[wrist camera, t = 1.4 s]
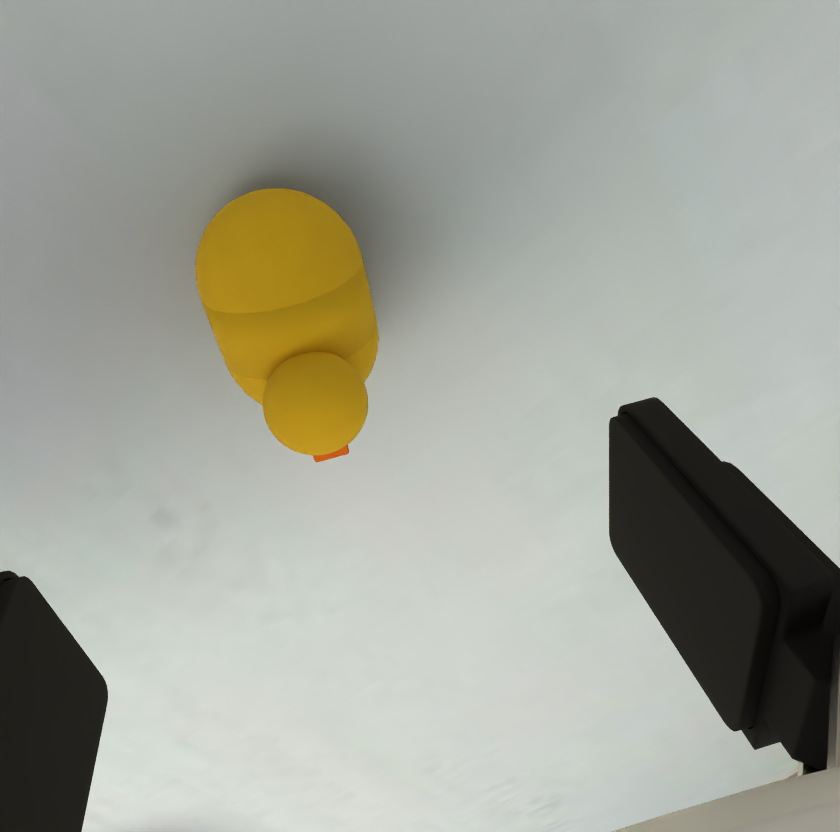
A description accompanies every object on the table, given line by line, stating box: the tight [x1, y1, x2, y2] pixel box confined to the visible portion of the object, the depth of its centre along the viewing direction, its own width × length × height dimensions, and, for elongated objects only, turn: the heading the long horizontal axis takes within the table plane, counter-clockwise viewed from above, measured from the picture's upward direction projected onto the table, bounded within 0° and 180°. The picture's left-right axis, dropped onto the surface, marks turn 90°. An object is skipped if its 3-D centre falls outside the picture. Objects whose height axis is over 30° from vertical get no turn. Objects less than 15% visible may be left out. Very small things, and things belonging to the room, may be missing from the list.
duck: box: [195, 188, 379, 462], centre depth 18 cm, size 7×5×6 cm
